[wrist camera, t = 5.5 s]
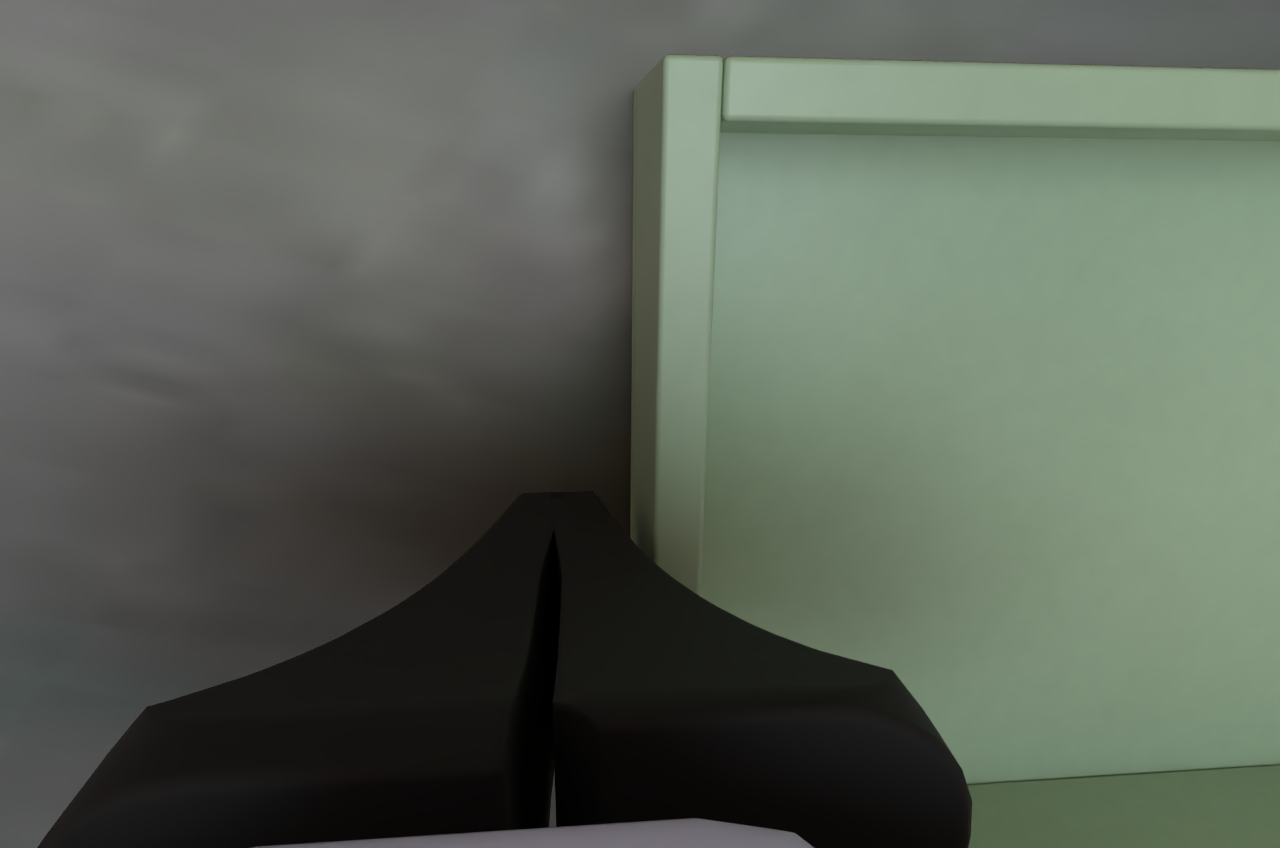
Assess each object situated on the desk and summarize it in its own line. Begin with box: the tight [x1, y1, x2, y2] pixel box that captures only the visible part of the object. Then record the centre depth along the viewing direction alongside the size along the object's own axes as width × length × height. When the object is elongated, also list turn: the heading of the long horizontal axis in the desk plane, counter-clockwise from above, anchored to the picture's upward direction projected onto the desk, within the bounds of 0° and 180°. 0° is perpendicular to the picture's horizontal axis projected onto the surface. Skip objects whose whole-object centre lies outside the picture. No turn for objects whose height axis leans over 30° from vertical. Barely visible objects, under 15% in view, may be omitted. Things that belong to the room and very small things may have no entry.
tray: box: [630, 54, 1280, 848], centre depth 12 cm, size 13×17×4 cm
